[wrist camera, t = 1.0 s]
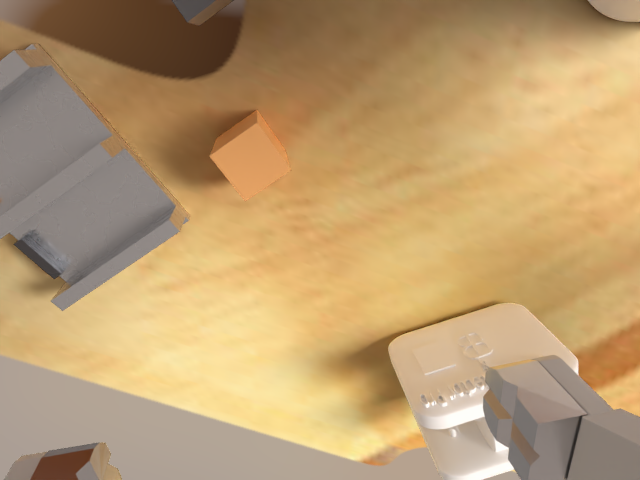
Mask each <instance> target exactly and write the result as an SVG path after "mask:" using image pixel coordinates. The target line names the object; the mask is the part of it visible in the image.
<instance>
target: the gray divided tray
mask: <svg viewBox="0 0 640 480" xmlns="http://www.w3.org/2000/svg"><path fill="white" fill-rule="evenodd" d="M189 219H190V215H189V214H188V213H187V212H186V210H185V209H184V208H183V207H182V206H181V205H180V204H179V202H178V201H177V200H176V199H175V198H174V197H173V196H172V195H171V193H170V192H169V191H168V190H167V189H166V188H165V187H164V185H163V184H162V183H161V182H160V181H159V180H158V179H157V177H156V176H155V175H154V174H153V173H152V172H151V171H150V170H149V168H148V167H147V166H146V165H145V164H144V163H143V162H142V160H141V159H140V158H139V157H138V156H137V155H136V154H135V153H134V151H133V150H132V149H131V148H130V147H129V146H128V145H127V143H126V142H125V141H124V140H123V139H122V138H121V137H120V135H119V134H118V133H117V132H116V131H115V130H114V129H113V128H112V126H111V125H110V124H109V123H108V122H107V121H106V120H105V118H104V117H103V116H102V115H101V114H100V113H99V112H98V110H97V109H96V108H95V107H94V106H93V105H92V104H91V103H90V101H89V100H88V99H87V98H86V97H85V96H84V95H83V93H82V92H81V91H80V90H79V89H78V88H77V87H76V86H75V84H74V83H73V82H72V81H71V80H70V79H69V78H68V76H67V75H66V74H65V73H64V72H63V71H62V70H61V68H60V67H59V66H58V65H57V64H56V63H55V62H54V61H53V59H52V58H51V57H50V56H49V55H48V54H47V53H46V51H45V50H44V49H43V48H42V47H41V46H40V45H39V44H31V45H30V46H29V47H27V48H26V49H25V50H13V51H12V52H11V53H10V54H8V55H7V56H6V57H5V58H3V59H2V60H1V61H0V239H1V238H3V237H4V236H5V235H7V234H8V233H10V234H11V235H13V236H14V237H15V238H16V239H17V240H18V241H17V242H16V243H15V244H14V245H15V246H16V247H17V248H18V249H20V250H21V251H22V252H23V253H24V254H25V255H27V256H28V257H29V258H30V259H31V260H32V261H34V262H35V263H36V264H37V265H38V266H39V267H40V268H42V269H43V270H44V271H45V272H46V273H47V274H49V275H50V276H51V277H52V278H53V279H55V278H57V277H58V276H60V277H61V278H62V279H63V280H64V281H66V282H65V283H64V285H63V286H62V287H61V289H60V290H59V291H58V292H57V294H56V295H55V296H54V297H53V299H52V300H51V302H52V303H53V304H55V305H56V306H57V307H58V308H60V309H61V310H62V311H63V310H65V309H66V308H68V307H69V306H70V305H72V304H73V303H75V302H76V301H78V300H79V299H81V298H82V297H84V296H85V295H87V294H88V293H90V292H91V291H93V290H94V289H96V288H97V287H98V286H100V285H101V284H103V283H104V282H106V281H107V280H109V279H110V278H112V277H113V276H115V275H116V274H118V273H119V272H121V271H122V270H124V269H125V268H126V267H128V266H129V265H131V264H132V263H134V262H135V261H137V260H138V259H140V258H141V257H143V256H144V255H146V254H147V253H149V252H150V251H152V250H153V249H154V248H156V247H157V246H159V245H160V244H162V243H163V242H165V241H166V240H168V239H169V238H171V237H172V236H174V235H175V234H177V233H178V232H180V230H181V227H182V225H183V224H184V223H186V222H187V221H189Z"/></svg>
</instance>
